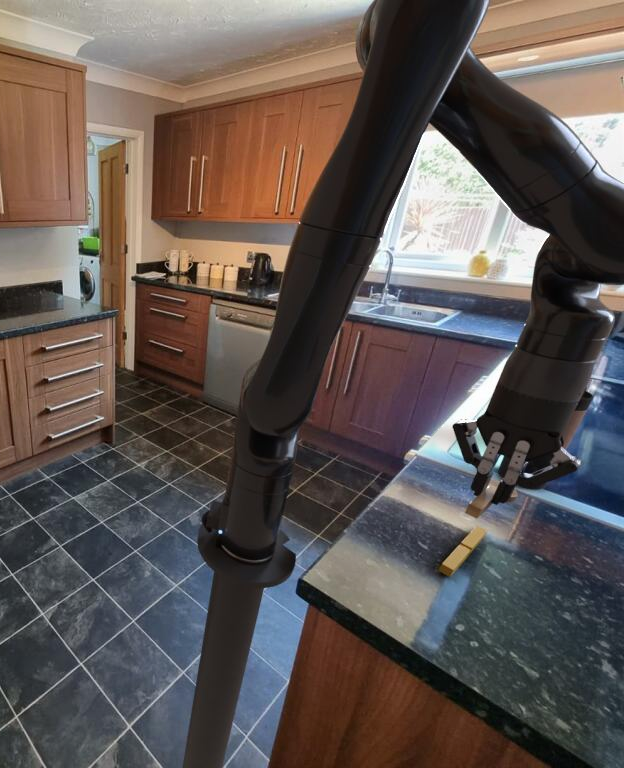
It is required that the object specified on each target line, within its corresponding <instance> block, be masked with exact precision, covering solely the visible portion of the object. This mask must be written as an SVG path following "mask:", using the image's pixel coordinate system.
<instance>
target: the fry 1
mask: <svg viewBox="0 0 624 768" xmlns="http://www.w3.org/2000/svg"><path fill="white" fill-rule="evenodd" d="M460 544H461V543H460ZM460 544H458V545H457V546H456V548H454V550H453V551H452V552H451V553H450V554H449V555H448V556H447V557H446V559H445V560H444V561H443V562H442V563H441V565H440V567H439V569H438V572H440V573H442V574H443V575H445V576H447V577H449V578H451V577H452V576H453V575H454V573H456V571H457V570H458V569H459V568H460V566H461V565H462V564H463V563H464V562H465V561H466V560H467V558H468V557H469V556H470V555H469V553H470V551H471V550H470V549H468V548H466V547H464V546H462V545H460ZM470 554H471V553H470Z"/></svg>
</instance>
